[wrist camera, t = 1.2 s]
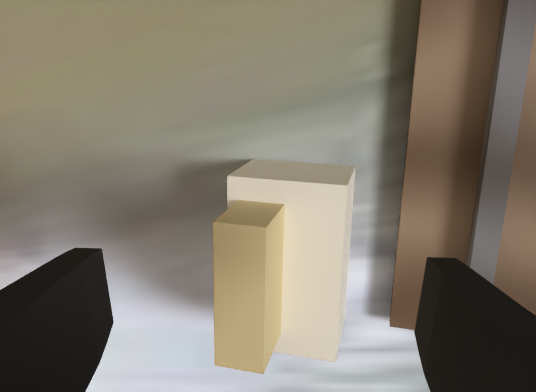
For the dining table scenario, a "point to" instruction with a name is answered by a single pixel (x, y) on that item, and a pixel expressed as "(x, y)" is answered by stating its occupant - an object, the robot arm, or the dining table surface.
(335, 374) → the dining table surface
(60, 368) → the robot arm
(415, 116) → the grey brown open tray
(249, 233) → the large cream box
